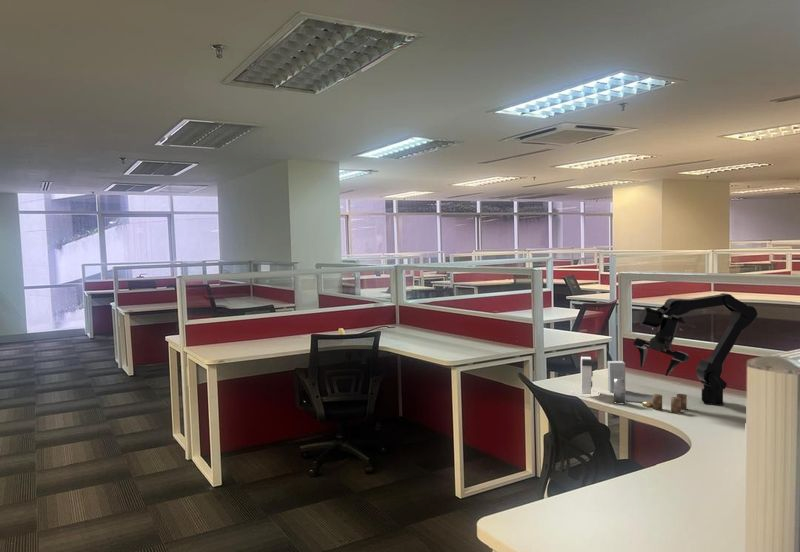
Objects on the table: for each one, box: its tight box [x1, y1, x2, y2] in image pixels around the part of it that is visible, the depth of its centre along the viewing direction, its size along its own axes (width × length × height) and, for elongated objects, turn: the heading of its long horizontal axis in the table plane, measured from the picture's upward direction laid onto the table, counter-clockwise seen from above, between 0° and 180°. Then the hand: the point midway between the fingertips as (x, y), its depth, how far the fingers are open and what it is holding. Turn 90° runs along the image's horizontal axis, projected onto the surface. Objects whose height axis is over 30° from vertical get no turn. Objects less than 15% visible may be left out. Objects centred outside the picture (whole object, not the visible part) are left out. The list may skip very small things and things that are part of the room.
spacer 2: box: [670, 396, 682, 414], centre depth 203 cm, size 3×3×5 cm
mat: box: [625, 392, 653, 404], centre depth 221 cm, size 12×12×1 cm
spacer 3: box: [676, 393, 688, 411], centre depth 207 cm, size 3×3×5 cm
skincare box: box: [607, 360, 626, 393], centre depth 233 cm, size 6×4×12 cm
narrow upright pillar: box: [570, 353, 601, 394], centre depth 230 cm, size 12×11×15 cm
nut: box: [642, 401, 653, 408], centre depth 212 cm, size 4×4×2 cm
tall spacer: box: [613, 378, 626, 404], centre depth 216 cm, size 4×4×9 cm
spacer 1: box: [652, 393, 663, 411], centre depth 208 cm, size 3×3×5 cm
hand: (653, 371), depth 214 cm, fingers open, 9 cm apart
